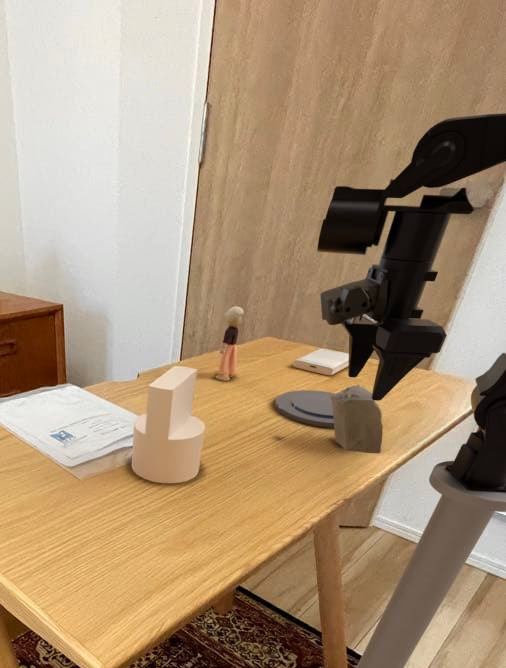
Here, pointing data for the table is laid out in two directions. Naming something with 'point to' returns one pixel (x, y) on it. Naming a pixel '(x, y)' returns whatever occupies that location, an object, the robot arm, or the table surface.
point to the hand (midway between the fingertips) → (363, 387)
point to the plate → (307, 407)
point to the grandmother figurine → (230, 344)
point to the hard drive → (323, 361)
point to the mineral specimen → (357, 420)
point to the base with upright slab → (169, 430)
